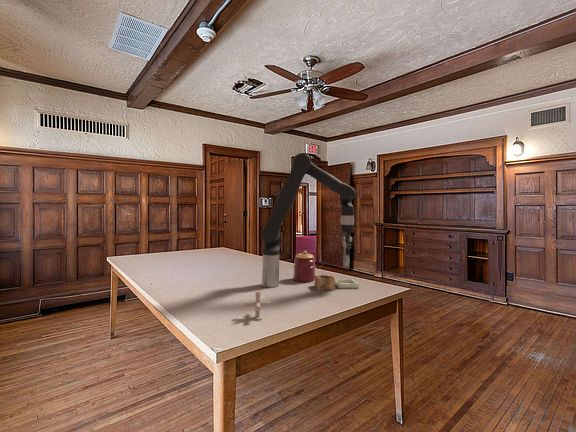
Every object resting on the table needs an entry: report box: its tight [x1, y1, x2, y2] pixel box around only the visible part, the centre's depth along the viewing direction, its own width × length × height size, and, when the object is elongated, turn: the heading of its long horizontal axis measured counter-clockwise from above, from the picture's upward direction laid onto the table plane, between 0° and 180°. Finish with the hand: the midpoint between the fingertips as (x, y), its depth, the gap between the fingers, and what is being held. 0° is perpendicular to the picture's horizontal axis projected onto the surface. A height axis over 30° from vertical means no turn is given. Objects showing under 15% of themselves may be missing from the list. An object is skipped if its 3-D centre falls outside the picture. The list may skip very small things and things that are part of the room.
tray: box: [335, 278, 360, 290], centre depth 170 cm, size 11×11×2 cm
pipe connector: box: [244, 290, 272, 318], centre depth 120 cm, size 10×10×10 cm
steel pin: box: [343, 240, 350, 269], centre depth 169 cm, size 3×3×15 cm
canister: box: [293, 250, 316, 283], centre depth 182 cm, size 13×13×18 cm
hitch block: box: [314, 274, 336, 291], centre depth 165 cm, size 9×9×6 cm
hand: (346, 254), depth 169 cm, fingers closed on steel pin, 3 cm apart
